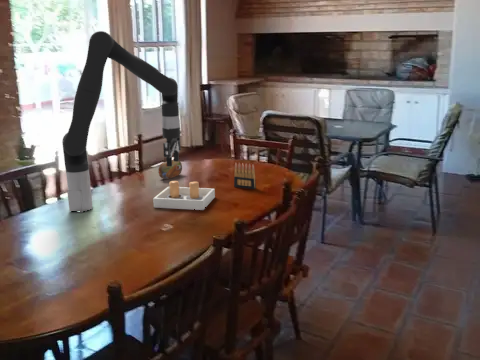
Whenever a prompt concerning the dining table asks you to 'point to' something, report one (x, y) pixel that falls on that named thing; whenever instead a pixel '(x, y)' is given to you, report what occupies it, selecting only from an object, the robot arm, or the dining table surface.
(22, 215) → the dining table surface
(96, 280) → the dining table surface
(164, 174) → the tin
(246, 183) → the ammunition clip
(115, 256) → the dining table surface
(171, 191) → the tan rounded sausage
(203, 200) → the housing
